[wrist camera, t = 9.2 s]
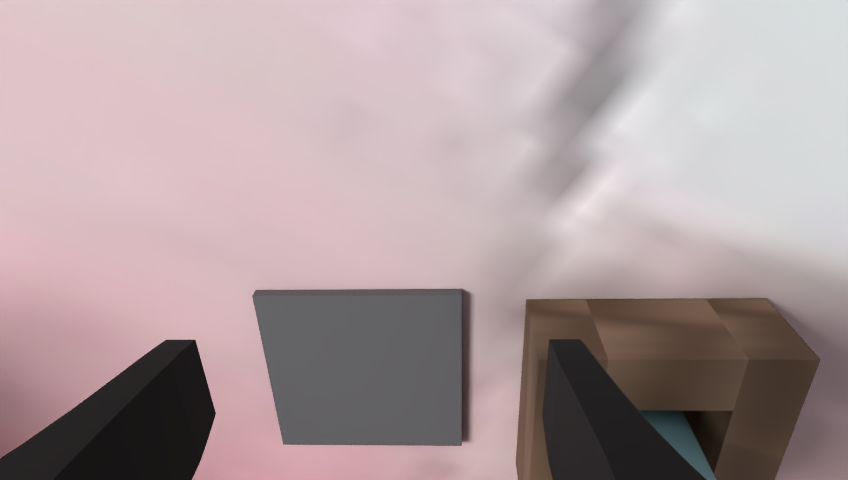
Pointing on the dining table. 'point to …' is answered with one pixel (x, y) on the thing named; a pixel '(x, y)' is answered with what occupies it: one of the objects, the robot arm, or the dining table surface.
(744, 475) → the hole block
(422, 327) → the mat
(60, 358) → the dining table surface
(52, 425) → the robot arm
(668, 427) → the peg
